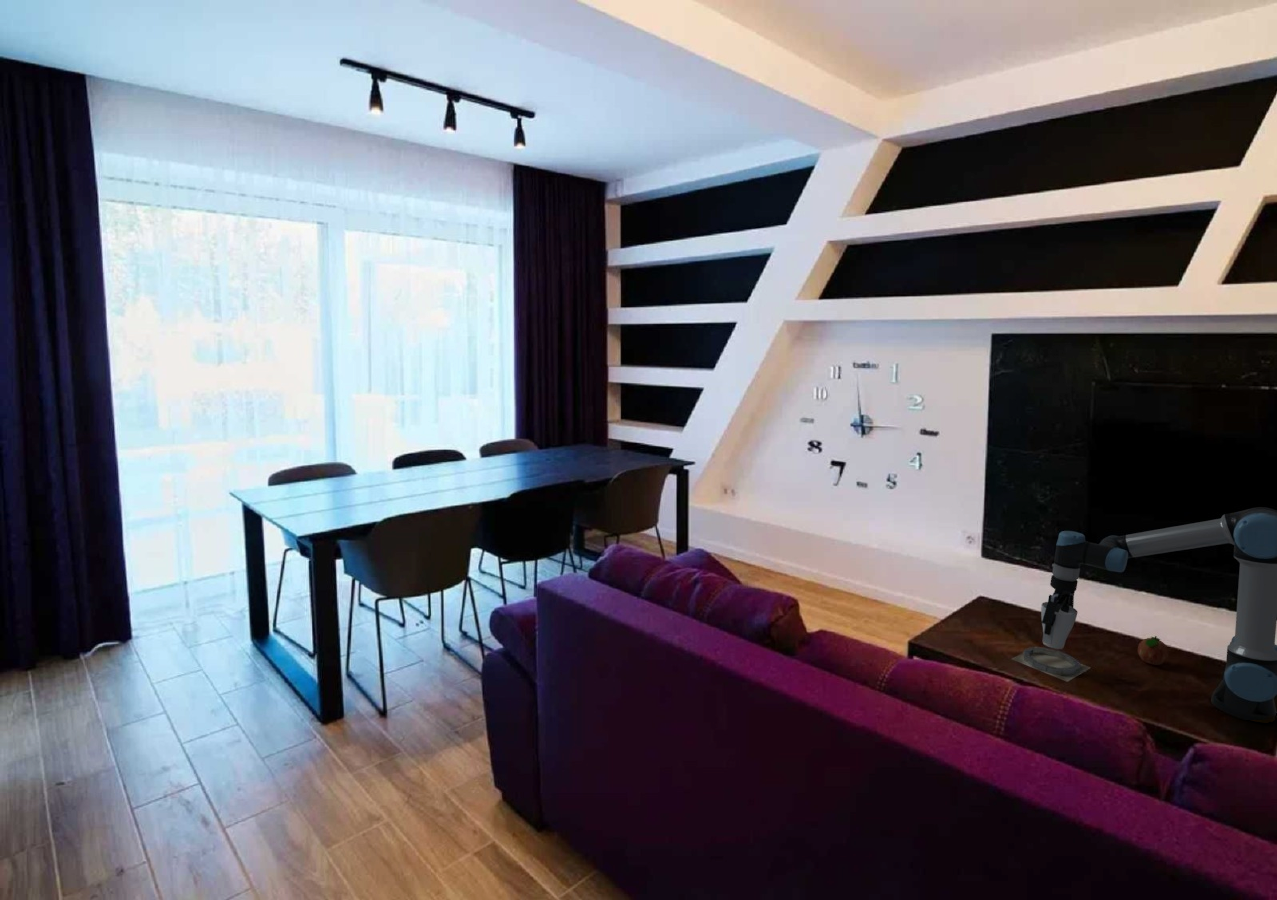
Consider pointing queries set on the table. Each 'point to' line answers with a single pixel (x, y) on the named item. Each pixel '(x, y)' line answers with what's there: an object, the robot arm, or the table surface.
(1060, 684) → the table surface
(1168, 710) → the table surface
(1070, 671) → the ring collar
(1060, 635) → the cup
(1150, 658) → the fruit
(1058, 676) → the board
